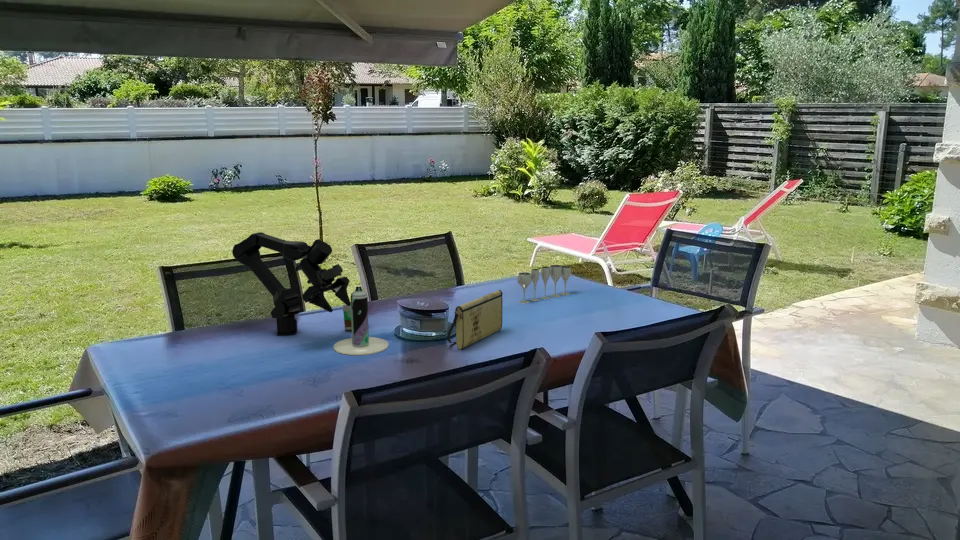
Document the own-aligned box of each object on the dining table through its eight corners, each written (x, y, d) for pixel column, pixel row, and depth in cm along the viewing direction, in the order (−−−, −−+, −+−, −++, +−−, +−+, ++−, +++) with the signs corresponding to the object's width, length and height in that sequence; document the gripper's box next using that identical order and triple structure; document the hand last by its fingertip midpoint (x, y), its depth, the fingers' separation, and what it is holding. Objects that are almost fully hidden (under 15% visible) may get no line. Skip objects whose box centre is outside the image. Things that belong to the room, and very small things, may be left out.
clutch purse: (488, 327, 265) (488, 287, 262) (505, 330, 262) (505, 289, 259) (441, 349, 241) (440, 305, 238) (459, 352, 237) (458, 308, 234)
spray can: (359, 348, 239) (357, 289, 235) (348, 345, 243) (346, 286, 239) (372, 344, 243) (370, 286, 239) (361, 341, 247) (359, 283, 243)
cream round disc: (335, 357, 232) (335, 355, 232) (332, 340, 249) (331, 339, 249) (391, 352, 237) (391, 351, 237) (384, 336, 254) (384, 335, 254)
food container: (359, 333, 258) (358, 306, 256) (343, 332, 259) (342, 305, 257) (371, 324, 270) (370, 297, 267) (356, 323, 271) (355, 296, 269)
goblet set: (564, 292, 317) (565, 262, 314) (573, 294, 313) (574, 264, 310) (514, 301, 301) (514, 270, 298) (523, 304, 296) (523, 272, 294)
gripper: (307, 262, 236) (335, 300, 233) (344, 253, 251) (371, 288, 249) (290, 283, 241) (317, 320, 238) (327, 273, 257) (353, 307, 254)
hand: (340, 308), depth 244 cm, fingers open, 9 cm apart
